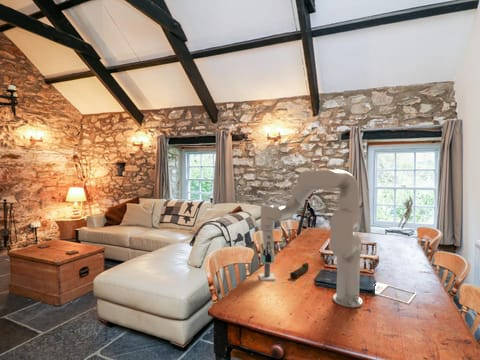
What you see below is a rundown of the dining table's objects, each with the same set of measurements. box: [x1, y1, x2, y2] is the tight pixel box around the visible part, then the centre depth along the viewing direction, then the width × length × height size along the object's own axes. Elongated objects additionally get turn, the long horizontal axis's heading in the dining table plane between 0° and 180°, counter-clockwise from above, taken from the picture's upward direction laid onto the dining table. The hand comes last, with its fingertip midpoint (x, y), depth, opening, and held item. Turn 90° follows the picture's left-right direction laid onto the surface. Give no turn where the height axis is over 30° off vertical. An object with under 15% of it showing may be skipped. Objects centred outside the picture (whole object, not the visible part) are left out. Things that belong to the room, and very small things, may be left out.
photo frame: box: [374, 281, 418, 305], centre depth 138 cm, size 15×1×18 cm
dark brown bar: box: [289, 262, 310, 280], centre depth 161 cm, size 19×4×5 cm, turn 139°
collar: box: [259, 251, 275, 265], centre depth 156 cm, size 7×7×4 cm
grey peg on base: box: [258, 263, 276, 282], centre depth 156 cm, size 8×8×8 cm
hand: (267, 259), depth 156 cm, fingers closed on collar, 7 cm apart
